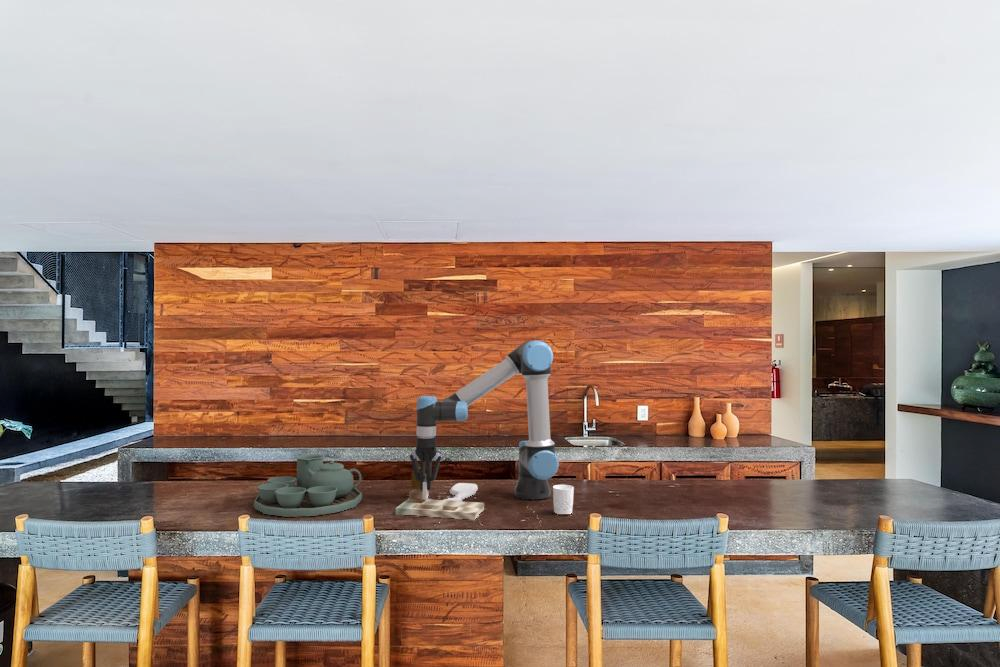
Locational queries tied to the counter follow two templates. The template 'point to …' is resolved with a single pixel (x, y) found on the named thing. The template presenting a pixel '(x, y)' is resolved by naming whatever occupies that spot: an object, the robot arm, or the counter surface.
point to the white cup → (563, 499)
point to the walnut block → (416, 496)
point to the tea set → (310, 489)
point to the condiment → (415, 481)
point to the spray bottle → (462, 491)
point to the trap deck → (442, 509)
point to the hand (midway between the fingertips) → (425, 498)
